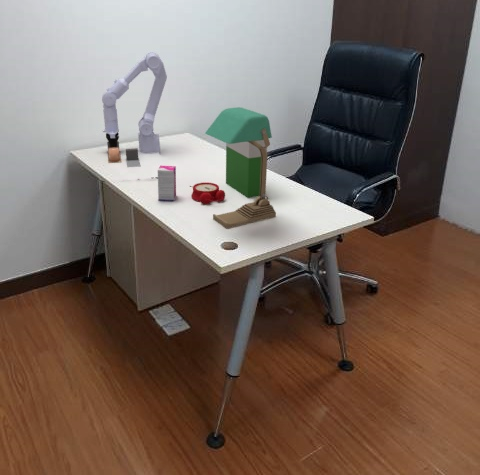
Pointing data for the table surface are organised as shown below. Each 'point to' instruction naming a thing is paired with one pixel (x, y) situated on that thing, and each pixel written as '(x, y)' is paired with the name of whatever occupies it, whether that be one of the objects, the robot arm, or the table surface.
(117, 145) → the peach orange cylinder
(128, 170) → the table surface
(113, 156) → the terracotta canister
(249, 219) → the banker's lamp
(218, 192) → the alarm clock
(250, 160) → the hardback book
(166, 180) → the supplement box
